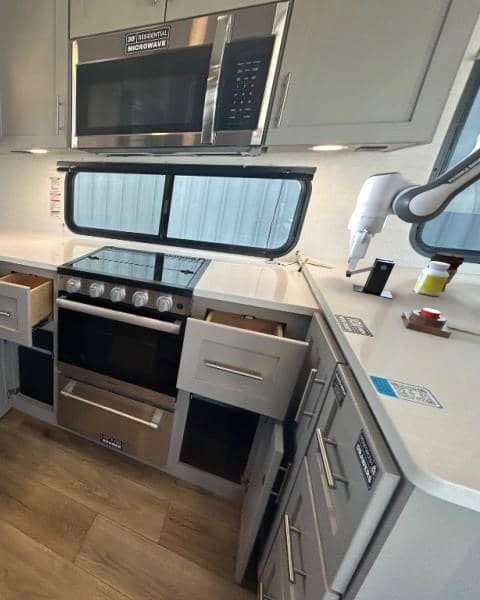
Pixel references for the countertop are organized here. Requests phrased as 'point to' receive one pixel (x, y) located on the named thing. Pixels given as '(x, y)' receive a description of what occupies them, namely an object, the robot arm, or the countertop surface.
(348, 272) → the switch lever
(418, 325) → the button block
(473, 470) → the countertop surface
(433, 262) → the pill bottle
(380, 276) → the switch bracket
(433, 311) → the button
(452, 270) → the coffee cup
